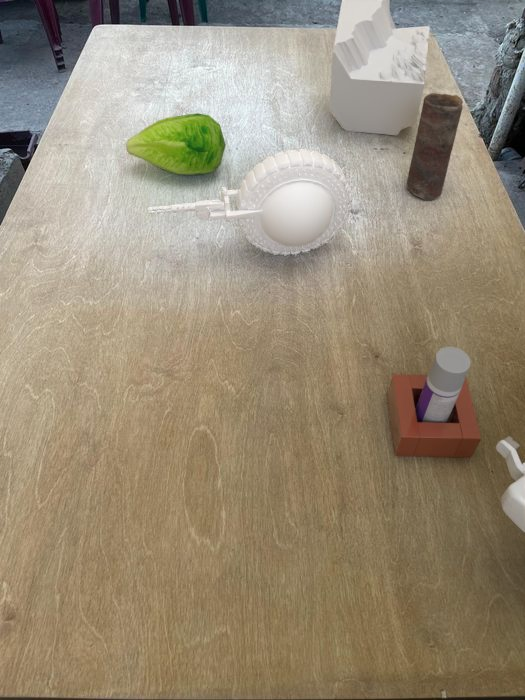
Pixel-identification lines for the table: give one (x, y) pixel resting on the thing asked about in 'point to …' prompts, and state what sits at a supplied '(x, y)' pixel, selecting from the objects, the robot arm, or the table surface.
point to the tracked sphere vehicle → (283, 203)
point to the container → (442, 385)
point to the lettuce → (181, 144)
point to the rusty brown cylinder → (434, 144)
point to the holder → (430, 437)
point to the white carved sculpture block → (376, 69)
